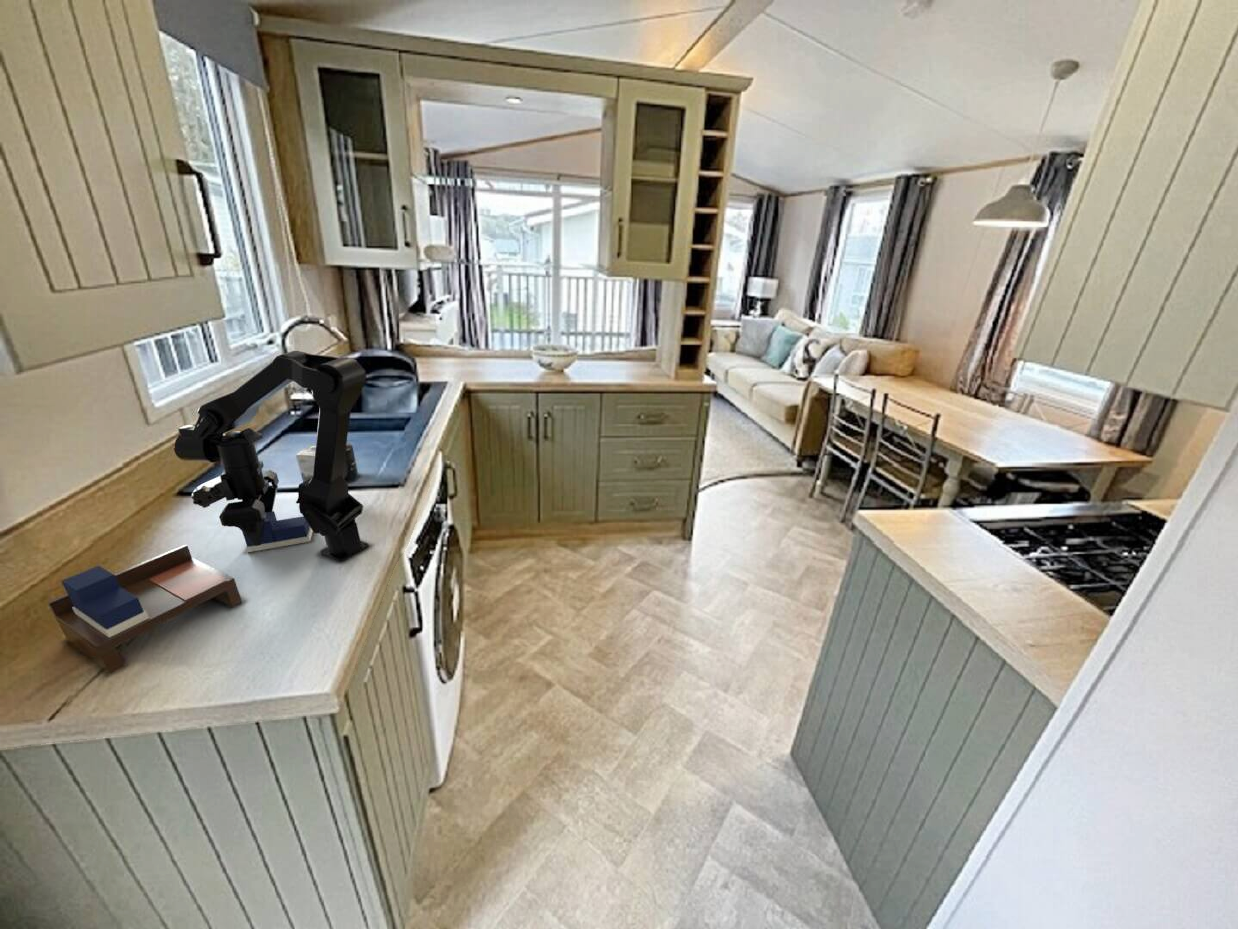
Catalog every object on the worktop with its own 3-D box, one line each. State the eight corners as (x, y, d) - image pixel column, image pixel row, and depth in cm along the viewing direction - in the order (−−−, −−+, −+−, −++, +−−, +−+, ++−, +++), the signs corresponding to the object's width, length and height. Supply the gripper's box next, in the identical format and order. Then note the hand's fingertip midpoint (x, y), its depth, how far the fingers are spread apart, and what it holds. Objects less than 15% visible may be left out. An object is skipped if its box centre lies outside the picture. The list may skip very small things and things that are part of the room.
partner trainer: (149, 618, 78) (135, 585, 75) (109, 638, 74) (92, 603, 72) (114, 596, 83) (100, 564, 80) (75, 613, 79) (58, 581, 76)
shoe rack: (242, 602, 89) (229, 566, 86) (110, 673, 74) (89, 632, 72) (198, 579, 95) (185, 544, 92) (67, 640, 80) (46, 601, 77)
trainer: (313, 530, 111) (306, 505, 109) (310, 541, 107) (303, 516, 104) (252, 540, 107) (244, 515, 105) (247, 552, 103) (238, 526, 101)
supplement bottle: (363, 479, 135) (354, 435, 130) (335, 486, 130) (324, 442, 125) (353, 471, 139) (344, 428, 134) (326, 478, 135) (315, 435, 130)
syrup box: (348, 502, 123) (335, 445, 117) (333, 514, 117) (319, 455, 112) (325, 501, 123) (311, 444, 117) (309, 513, 118) (294, 454, 112)
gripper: (204, 451, 104) (227, 519, 110) (171, 490, 88) (200, 567, 94) (269, 444, 108) (287, 510, 114) (248, 480, 92) (271, 554, 98)
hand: (262, 533), depth 105 cm, fingers open, 9 cm apart
